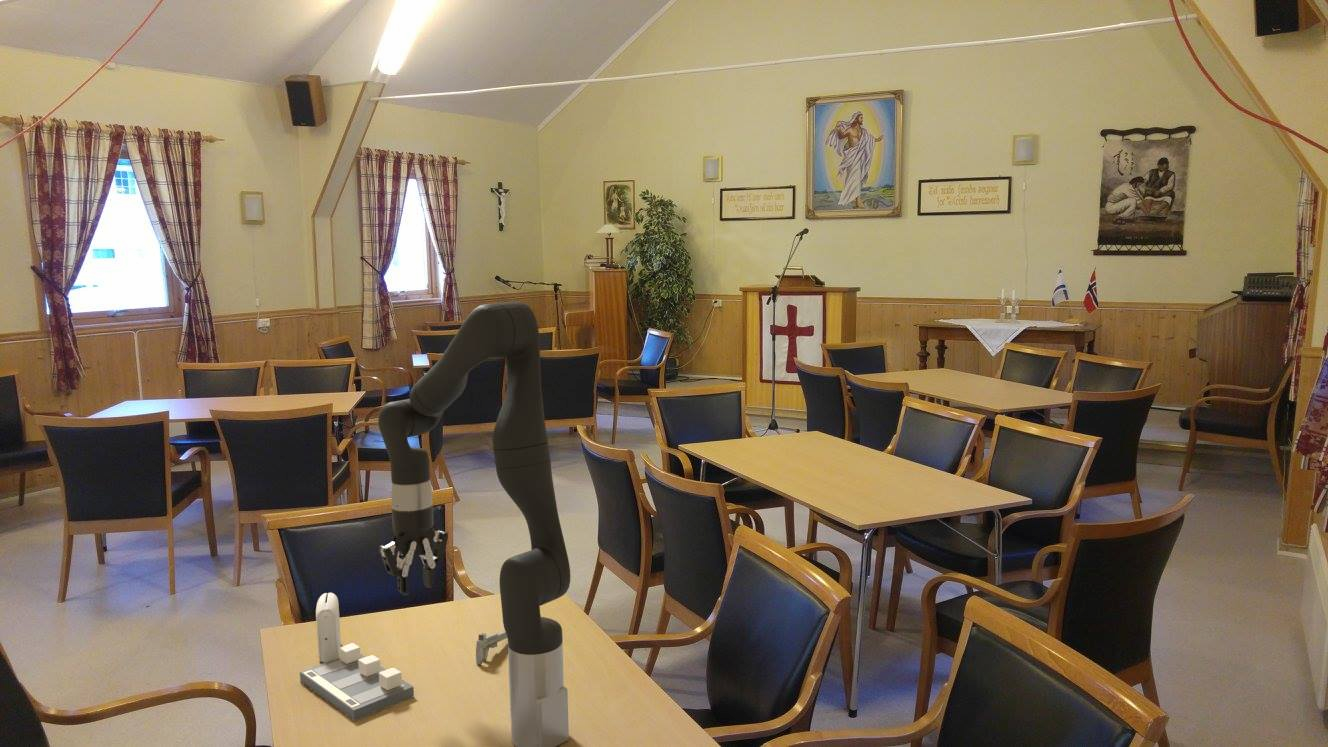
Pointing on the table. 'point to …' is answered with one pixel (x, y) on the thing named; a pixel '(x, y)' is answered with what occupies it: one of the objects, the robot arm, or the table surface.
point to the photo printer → (328, 627)
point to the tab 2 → (390, 678)
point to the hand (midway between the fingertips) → (416, 589)
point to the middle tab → (369, 665)
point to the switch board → (353, 688)
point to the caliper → (487, 644)
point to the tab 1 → (349, 653)
